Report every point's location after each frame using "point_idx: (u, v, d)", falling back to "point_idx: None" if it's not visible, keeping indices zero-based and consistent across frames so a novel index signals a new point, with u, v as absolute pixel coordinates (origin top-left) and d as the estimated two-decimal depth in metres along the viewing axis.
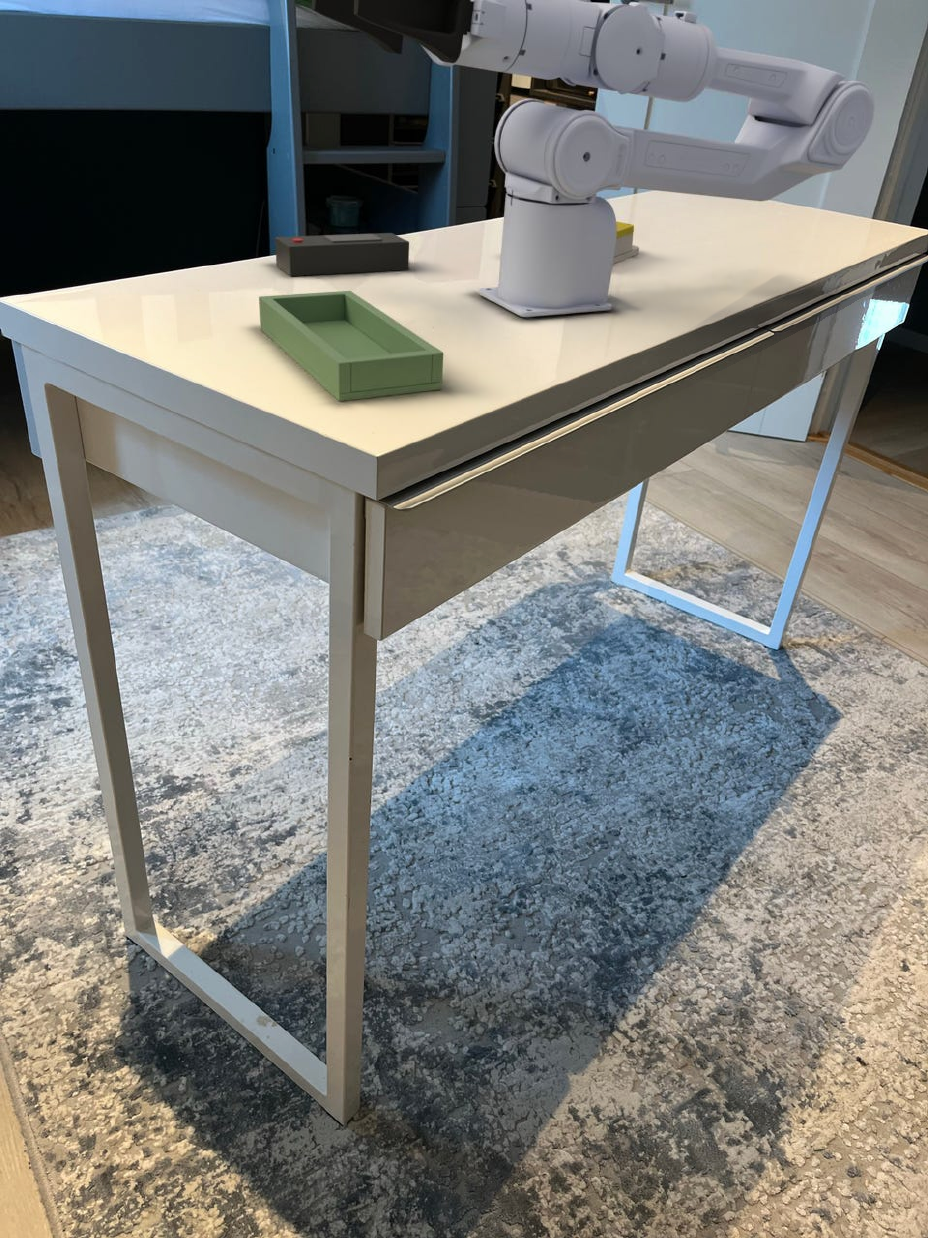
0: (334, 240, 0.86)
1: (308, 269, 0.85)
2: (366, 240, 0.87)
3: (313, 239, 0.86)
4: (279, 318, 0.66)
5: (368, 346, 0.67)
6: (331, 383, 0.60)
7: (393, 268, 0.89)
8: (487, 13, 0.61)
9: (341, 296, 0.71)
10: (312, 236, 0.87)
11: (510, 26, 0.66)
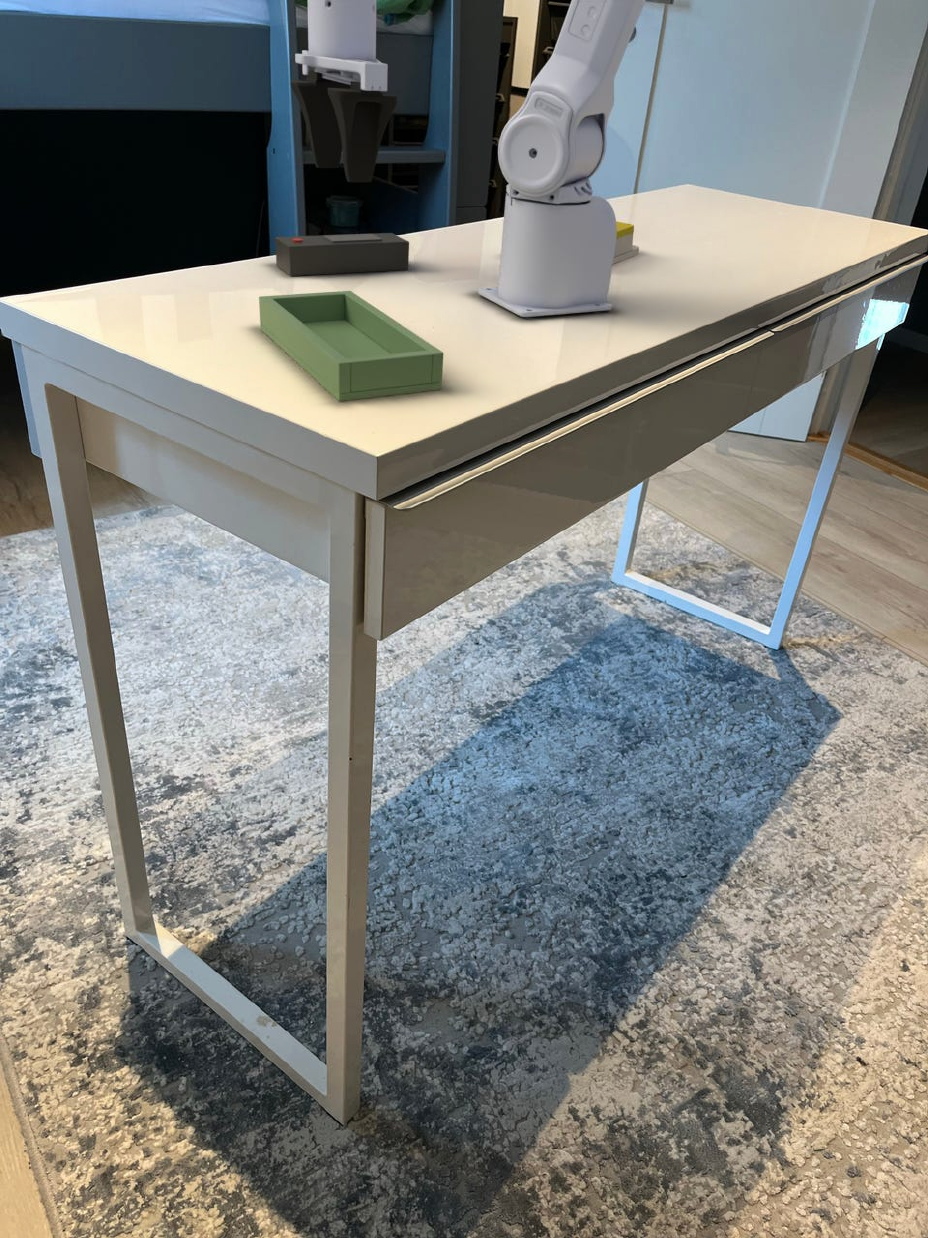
0: (334, 240, 0.86)
1: (308, 269, 0.85)
2: (366, 240, 0.87)
3: (313, 239, 0.86)
4: (279, 318, 0.66)
5: (368, 346, 0.67)
6: (331, 383, 0.60)
7: (393, 268, 0.89)
8: (373, 82, 0.74)
9: (341, 296, 0.71)
10: (312, 236, 0.87)
11: (355, 14, 0.75)
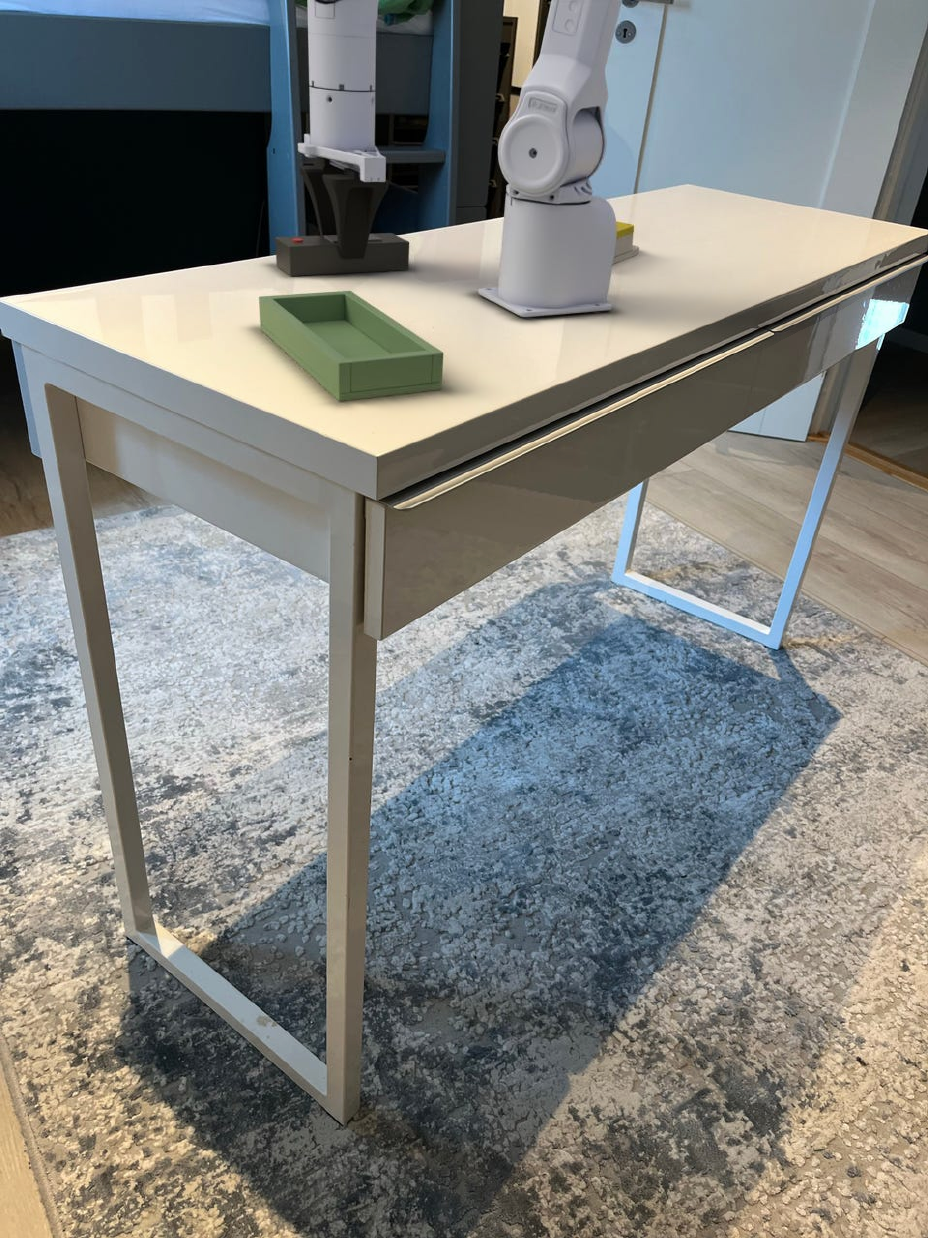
0: (334, 240, 0.86)
1: (308, 269, 0.85)
2: None
3: (313, 239, 0.86)
4: (279, 318, 0.66)
5: (368, 346, 0.67)
6: (331, 383, 0.60)
7: (393, 268, 0.89)
8: (372, 174, 0.78)
9: (341, 296, 0.71)
10: (312, 236, 0.87)
11: (355, 108, 0.79)
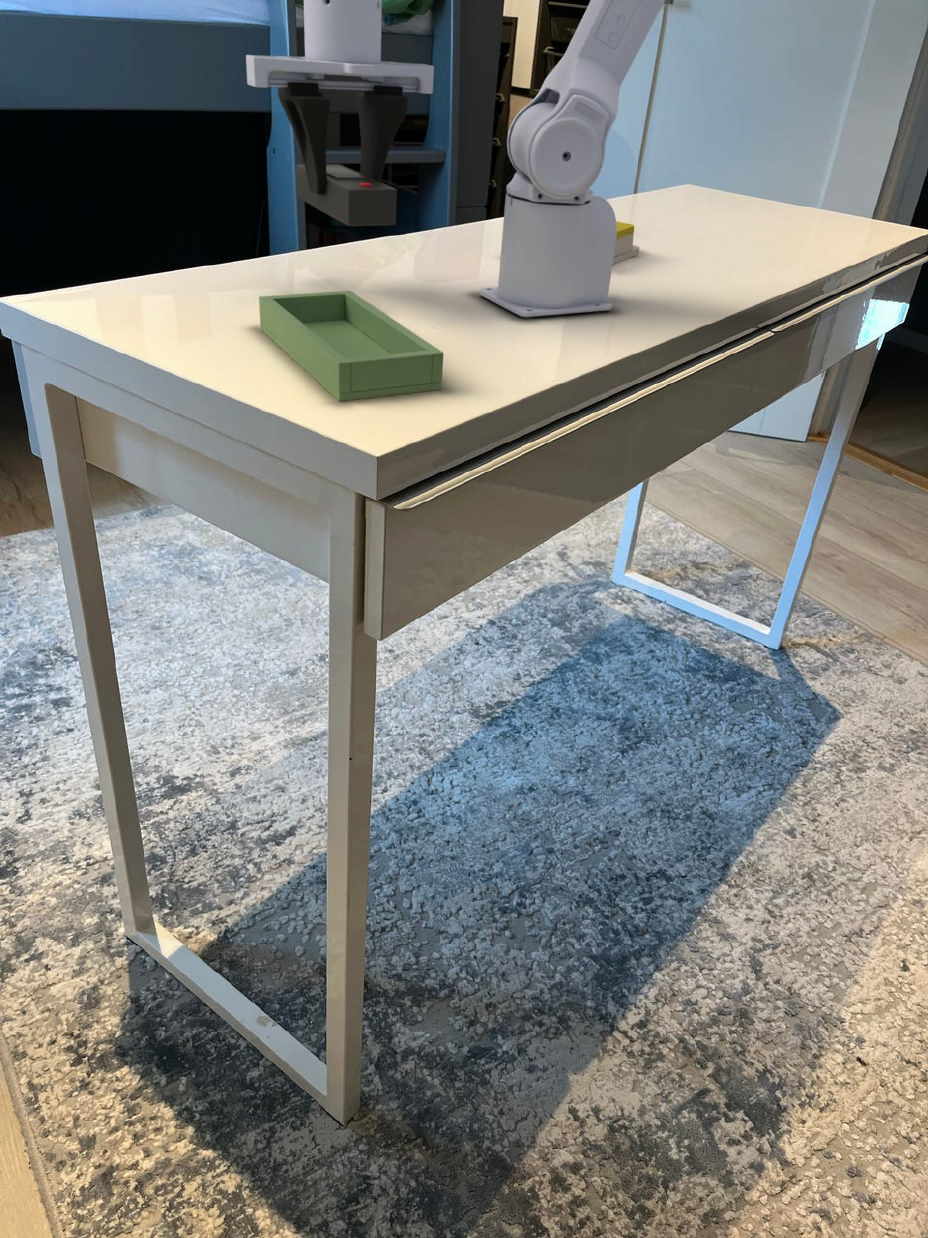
0: (361, 176, 0.74)
1: None
2: (349, 171, 0.76)
3: (353, 182, 0.72)
4: (279, 318, 0.66)
5: (368, 346, 0.67)
6: (331, 383, 0.60)
7: None
8: None
9: (341, 296, 0.71)
10: (336, 181, 0.72)
11: None
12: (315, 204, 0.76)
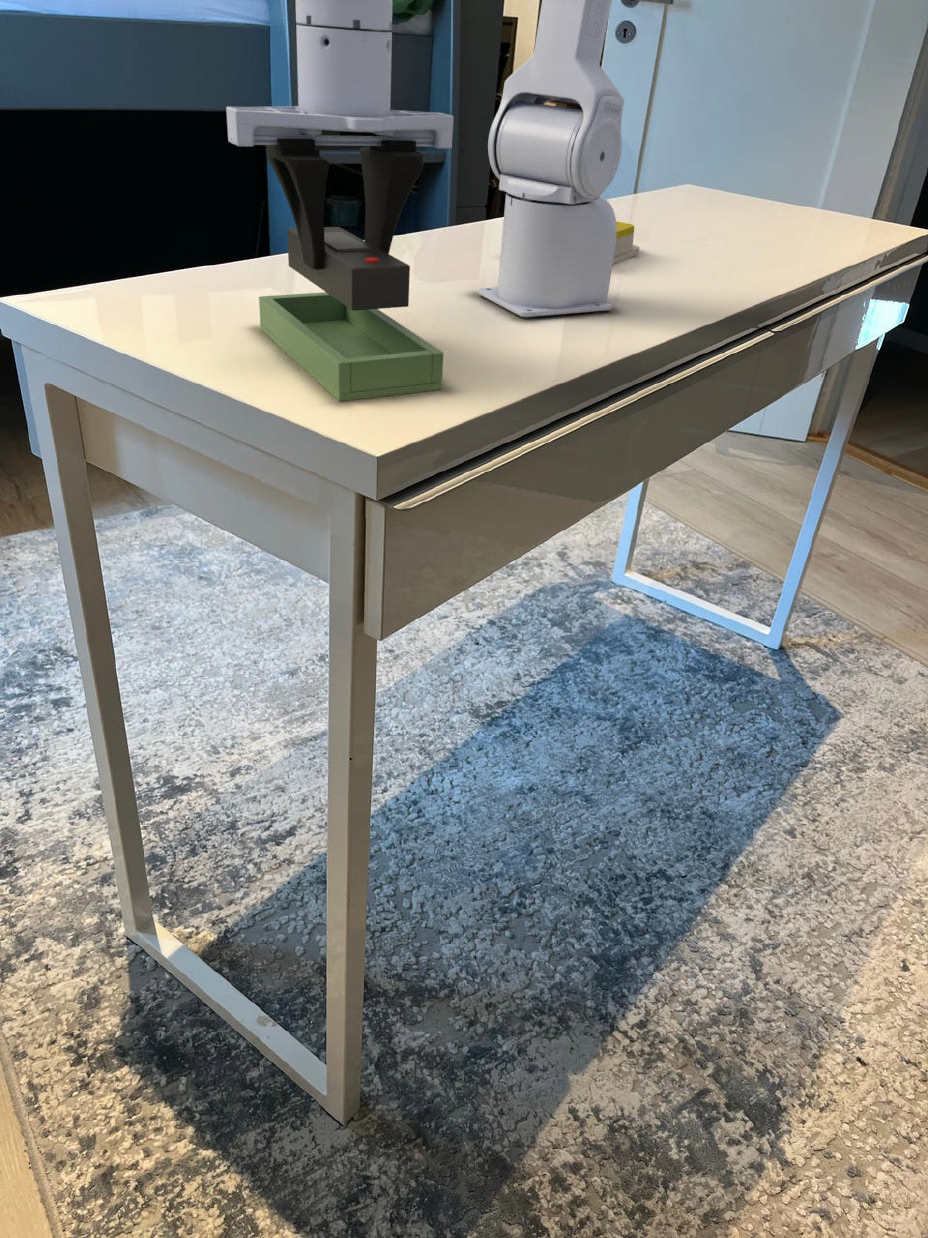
0: (365, 247, 0.62)
1: None
2: (350, 238, 0.64)
3: (357, 255, 0.60)
4: (279, 318, 0.66)
5: (368, 346, 0.67)
6: (331, 383, 0.60)
7: None
8: None
9: None
10: (336, 255, 0.60)
11: None
12: (311, 278, 0.64)
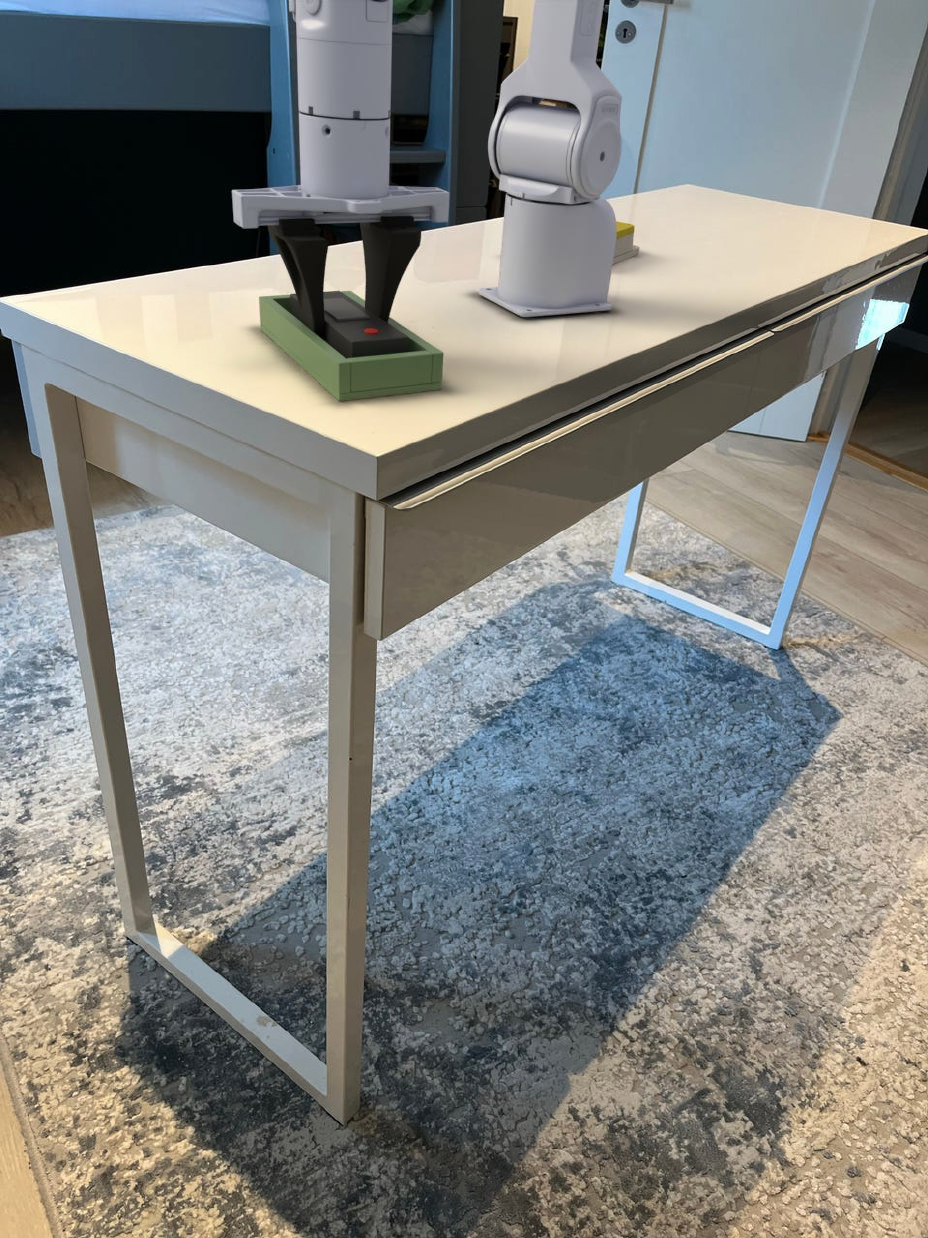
0: (365, 316, 0.64)
1: None
2: (351, 304, 0.67)
3: (356, 325, 0.63)
4: (279, 318, 0.66)
5: None
6: (331, 383, 0.60)
7: None
8: None
9: None
10: (336, 325, 0.62)
11: None
12: None
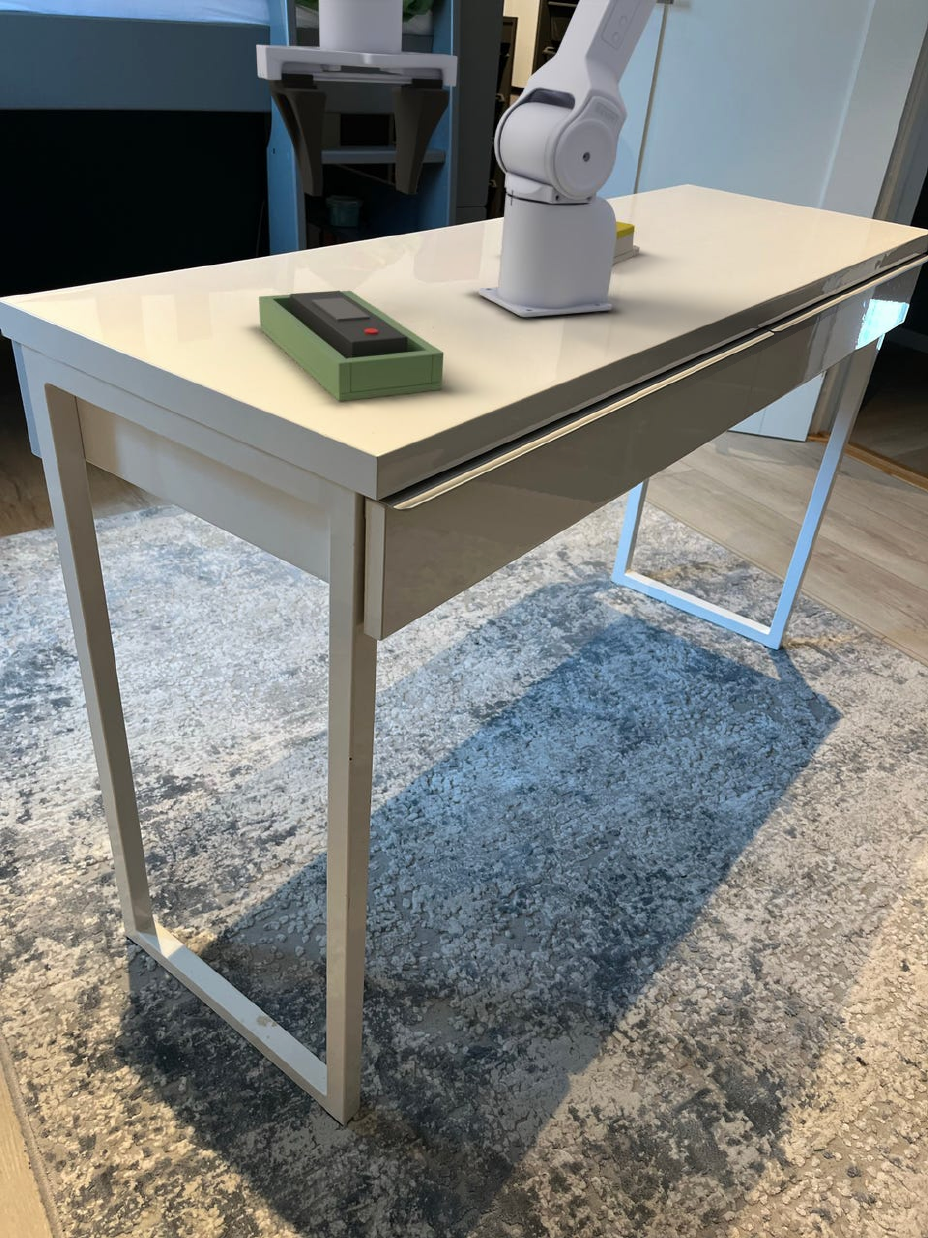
0: (365, 316, 0.64)
1: None
2: (351, 304, 0.67)
3: (356, 325, 0.63)
4: (279, 318, 0.66)
5: None
6: (331, 383, 0.60)
7: None
8: None
9: None
10: (336, 325, 0.62)
11: None
12: None
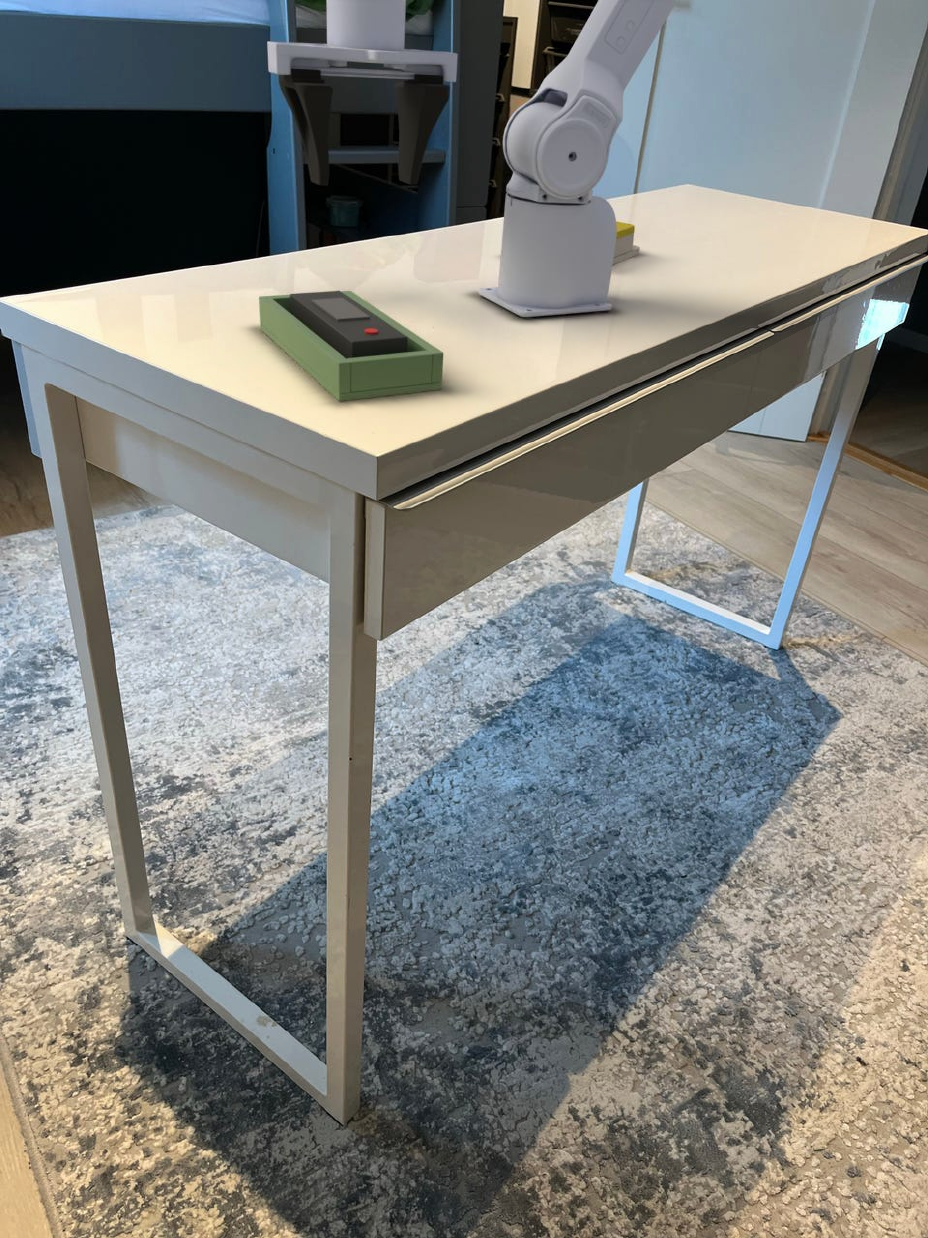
0: (365, 316, 0.64)
1: None
2: (351, 304, 0.67)
3: (356, 325, 0.63)
4: (279, 318, 0.66)
5: None
6: (331, 383, 0.60)
7: None
8: None
9: None
10: (336, 325, 0.62)
11: None
12: None
